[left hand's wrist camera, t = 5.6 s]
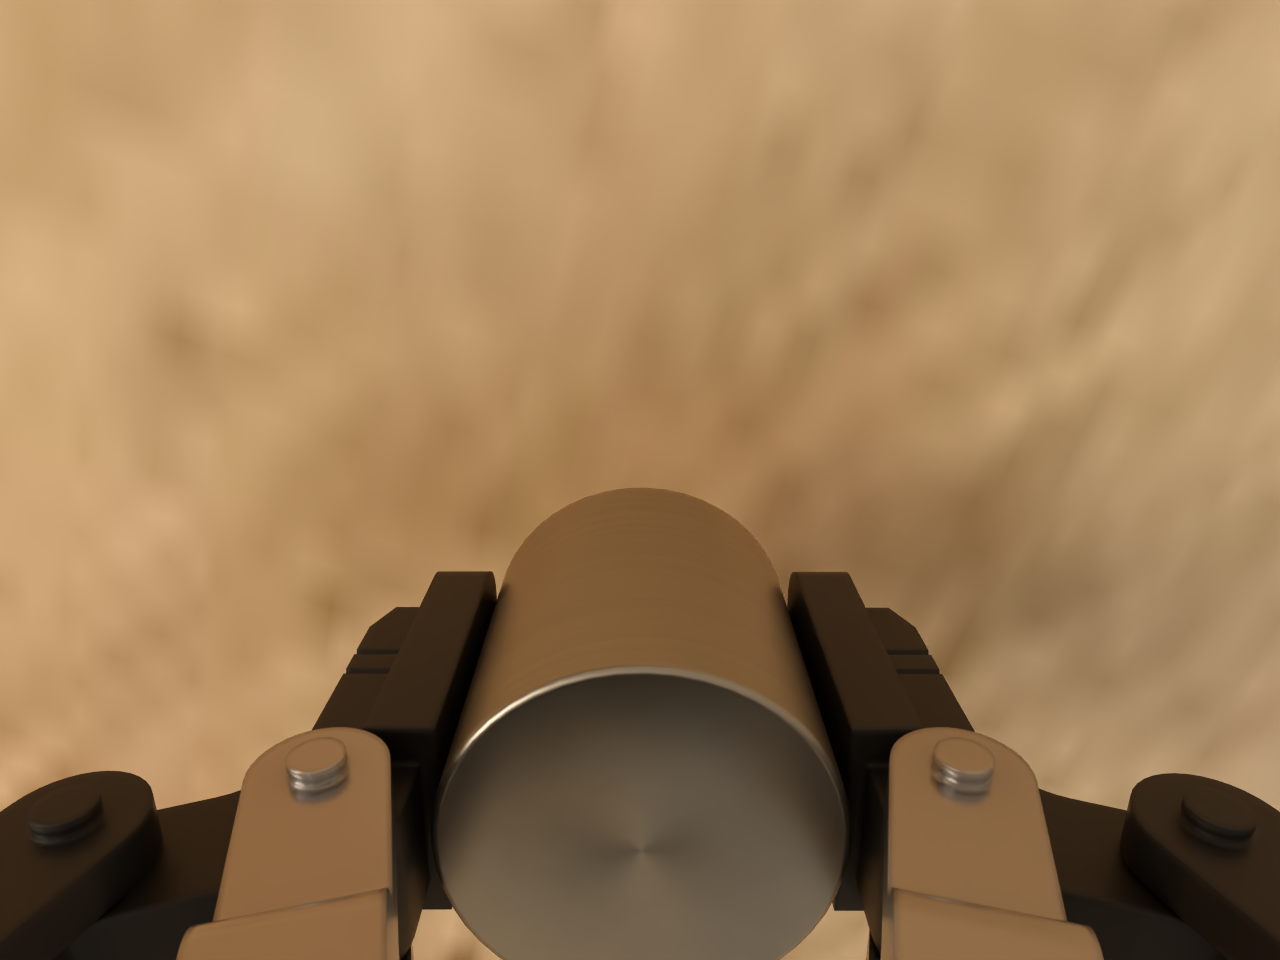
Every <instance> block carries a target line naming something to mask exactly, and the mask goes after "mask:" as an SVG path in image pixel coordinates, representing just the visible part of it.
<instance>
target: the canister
mask: <svg viewBox="0 0 1280 960" xmlns="http://www.w3.org/2000/svg"><path fill="white" fill-rule="evenodd" d="M431 842H432V848H433V855H434V861H435V865H436V868H437V871H438V874H439V878H440V881H441V884H442V887H443V889H444V891H445V893H446V895H447V897H448V899H449V901H450V903H451V905H452V907H453V908H454V910H455V911H456V913H457V914H458V915H459V917H460V918H461V920H462V921H463V923H464V924H465V925H466V926H467V928H468V929H469V930H470V931H471V932H472V933H473V934H474V935H475V936H476V937H477V938H478V939H479V941H480V942H481V943H483V944H484V945H485V946H486V947H487V948H489V949H490V950H491V951H492V952H493V953H495V954H496V955H497V956H498V957H500V958H501V959H503V960H780V959H781V958H782V957H784V956H785V955H786V954H788V953H789V952H790V951H791V950H793V949H794V948H795V947H796V946H797V945H798V944H799V943H800V942H801V941H802V940H803V939H804V938H805V937H806V936H808V935H809V934H810V933H811V932H812V930H813V929H814V928H815V926H816V925H817V924H818V923H819V921H820V920H821V919H822V917H823V916H824V915H825V914H826V912H827V910H828V908H829V907H830V905H831V903H832V901H833V900H834V898H835V896H836V894H837V892H838V889H839V887H840V884H841V881H842V879H843V876H844V874H845V870H846V866H847V861H848V856H849V852H850V845H851V817H850V808H849V802H848V799H847V795H846V792H845V788H844V785H843V781H842V778H841V775H840V772H839V769H838V765H837V762H836V759H835V756H834V753H833V750H832V747H831V744H830V740H829V737H828V734H827V731H826V728H825V725H824V722H823V719H822V715H821V712H820V709H819V706H818V703H817V700H816V697H815V694H814V690H813V687H812V684H811V681H810V678H809V675H808V672H807V668H806V665H805V662H804V659H803V656H802V653H801V650H800V647H799V643H798V640H797V637H796V634H795V631H794V628H793V625H792V622H791V618H790V615H789V612H788V609H787V606H786V603H785V600H784V597H783V593H782V590H781V587H780V584H779V581H778V578H777V575H776V572H775V570H774V568H773V566H772V564H771V562H770V559H769V558H768V556H767V555H766V553H765V551H764V550H763V548H762V547H761V545H760V544H759V543H758V542H757V540H756V539H755V538H754V537H753V536H752V535H751V533H750V532H749V531H748V530H747V529H746V528H744V527H743V526H742V525H741V524H740V523H739V522H738V521H736V520H735V519H734V518H733V517H731V516H730V515H728V514H727V513H725V512H724V511H722V510H721V509H719V508H717V507H715V506H713V505H711V504H709V503H707V502H705V501H703V500H701V499H698V498H695V497H692V496H689V495H686V494H683V493H679V492H674V491H669V490H664V489H652V488H627V489H619V490H613V491H607V492H603V493H599V494H596V495H593V496H589V497H586V498H584V499H581V500H579V501H577V502H575V503H572V504H570V505H568V506H566V507H565V508H563V509H561V510H560V511H558V512H556V513H555V514H553V515H552V516H550V517H549V518H548V519H547V520H545V521H544V522H543V523H542V524H540V525H539V526H538V527H537V528H536V529H535V530H534V531H533V532H532V533H531V534H530V535H529V536H528V537H527V538H526V540H525V541H524V542H523V544H522V545H521V547H520V548H519V549H518V551H517V552H516V553H515V555H514V557H513V559H512V561H511V563H510V565H509V567H508V569H507V571H506V574H505V577H504V580H503V583H502V586H501V589H500V592H499V595H498V599H497V602H496V605H495V608H494V611H493V614H492V618H491V621H490V624H489V627H488V630H487V633H486V637H485V640H484V643H483V646H482V649H481V652H480V656H479V659H478V662H477V665H476V668H475V671H474V675H473V678H472V681H471V684H470V687H469V690H468V694H467V697H466V700H465V703H464V706H463V710H462V713H461V716H460V719H459V722H458V725H457V729H456V732H455V735H454V738H453V741H452V744H451V748H450V751H449V754H448V757H447V760H446V763H445V767H444V770H443V773H442V776H441V779H440V782H439V786H438V789H437V792H436V795H435V800H434V806H433V812H432V817H431Z"/></svg>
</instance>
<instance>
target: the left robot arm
mask: <svg viewBox="0 0 1280 960" xmlns="http://www.w3.org/2000/svg"><path fill="white" fill-rule="evenodd" d="M496 602H497V595H496V584H495V578H494V574H493V572H437V573H436V574H435V576H434V578H433V580H432V582H431V585H430V587H429V589H428V591H427V593H426V595H425V597H424V599H423V601H422V603H421V606H420V607H396V608H395V609H393V610H392V611H391V612H389V613H388V614H387V615H385V616H384V617H383V618H381V619H380V620H378V621H377V622H376V623H374V624H373V625H372V626H370V627H369V629H368V631H367V633H366V635H365V636H364V638H363V640H362V642H361V643H360V645H359V647H358V649H357V654H354V656H353V658H352V659H351V661H350V663H349V665H348V667H347V668H346V674H343V676H342V677H341V679H340V681H339V683H338V684H337V686H336V688H335V690H334V692H333V693H332V695H331V697H330V699H329V700H328V702H327V704H326V706H325V708H324V709H323V711H322V713H321V715H320V717H319V718H318V720H317V722H316V724H315V725H314V727H313V729H312V731H308V732H305V733H301V734H298V735H295V736H293V737H290V738H288V739H286V740H284V741H282V742H280V743H278V744H276V745H274V746H273V747H271V748H270V749H268V750H267V751H265V752H264V753H263V754H262V755H261V756H259V757H258V758H257V759H256V760H255V762H254V763H253V764H252V765H251V766H250V768H249V769H248V771H247V773H246V775H245V777H244V780H243V784H242V789H241V790H240V791H237V792H234V793H231V794H228V795H224V796H220V797H216V798H212V799H207V800H202V801H198V802H193V803H188V804H184V805H179V806H174V807H170V808H165V809H160V810H156V805H155V801H154V797H153V793H152V790H151V787H150V786H149V784H148V783H147V782H146V781H145V780H144V779H142V778H141V777H139V776H136V775H134V774H131V773H126V772H121V771H100V772H91V773H85V774H80V775H76V776H72V777H68V778H65V779H62V780H59V781H56V782H53V783H51V784H48V785H46V786H44V787H41V788H39V789H37V790H35V791H33V792H31V793H29V794H27V795H25V796H24V797H22V798H21V799H19V800H17V801H16V802H14V803H13V804H11V805H10V806H8V807H7V808H5V809H4V810H3V811H1V812H0V960H414V956H413V948H412V941H413V939H414V936H415V933H416V929H417V926H418V922H419V919H420V915H421V912H422V909H452V905H451V903H450V901H449V899H448V897H447V895H446V893H445V891H444V889H443V887H442V884H441V881H440V878H439V874H438V871H437V868H436V865H435V861H434V855H433V848H432V842H431V817H432V812H433V806H434V800H435V795H436V792H437V789H438V786H439V782H440V779H441V776H442V773H443V770H444V767H445V763H446V760H447V757H448V754H449V751H450V748H451V744H452V741H453V738H454V735H455V732H456V729H457V725H458V722H459V719H460V716H461V713H462V710H463V706H464V703H465V700H466V697H467V694H468V690H469V687H470V684H471V681H472V678H473V675H474V671H475V668H476V665H477V662H478V659H479V656H480V652H481V649H482V646H483V643H484V640H485V637H486V633H487V630H488V627H489V624H490V621H491V618H492V614H493V611H494V608H495V605H496ZM787 609H788V612H789V615H790V618H791V622H792V625H793V628H794V631H795V634H796V637H797V640H798V643H799V647H800V650H801V653H802V656H803V659H804V662H805V665H806V668H807V672H808V675H809V678H810V681H811V684H812V687H813V690H814V694H815V697H816V700H817V703H818V706H819V709H820V712H821V715H822V719H823V722H824V725H825V728H826V731H827V734H828V737H829V740H830V744H831V747H832V750H833V753H834V756H835V759H836V762H837V765H838V769H839V772H840V775H841V778H842V781H843V785H844V788H845V792H846V795H847V799H848V802H849V808H850V817H851V845H850V852H849V856H848V861H847V866H846V870H845V874H844V876H843V879H842V881H841V884H840V887H839V889H838V892H837V894H836V896H835V898H834V900H833V901H832V903H833V907H834V911H864V912H865V915H866V918H867V922H868V925H869V929H870V930H869V939H868V948H867V956H866V960H1280V812H1279V811H1278V810H1276V809H1275V808H1273V807H1272V806H1270V805H1269V804H1267V803H1265V802H1264V801H1262V800H1261V799H1259V798H1257V797H1255V796H1253V795H1251V794H1249V793H1248V792H1246V791H1243V790H1241V789H1239V788H1236V787H1234V786H1232V785H1229V784H1226V783H1223V782H1220V781H1217V780H1214V779H1210V778H1206V777H1202V776H1196V775H1190V774H1178V773H1171V774H1159V775H1154V776H1151V777H1148V778H1145V779H1143V780H1142V781H1140V782H1139V783H1137V785H1136V786H1135V787H1134V788H1133V790H1132V793H1131V796H1130V800H1129V805H1128V809H1127V811H1126V810H1122V809H1117V808H1112V807H1108V806H1103V805H1098V804H1094V803H1089V802H1084V801H1079V800H1075V799H1070V798H1066V797H1063V796H1059V795H1055V794H1052V793H1049V792H1047V791H1044V790H1041V789H1039V788H1038V784H1037V780H1036V777H1035V775H1034V773H1033V771H1032V769H1031V768H1030V766H1029V765H1028V764H1027V763H1026V762H1025V760H1024V759H1023V758H1022V757H1021V756H1019V755H1018V754H1017V753H1016V752H1015V751H1013V750H1012V749H1010V748H1009V747H1007V746H1006V745H1004V744H1002V743H1000V742H998V741H996V740H994V739H992V738H990V737H987V736H985V735H982V734H979V733H975V731H974V729H973V728H972V726H971V724H970V722H969V721H968V719H967V717H966V715H965V714H964V712H963V710H962V708H961V707H960V705H959V703H958V701H957V700H956V698H955V696H954V694H953V693H952V691H951V689H950V687H949V686H948V684H947V682H946V680H945V679H944V677H943V675H942V674H939V668H938V666H937V665H936V663H935V661H934V659H933V658H932V656H931V655H929V654H928V649H927V647H926V645H925V644H924V642H923V640H922V638H921V637H920V635H919V633H918V631H917V630H916V628H915V627H914V626H913V625H911V624H910V623H908V622H907V621H906V620H904V619H903V618H902V617H900V616H899V615H898V614H896V613H895V612H893V611H892V610H891V609H889V608H865V606H864V604H863V602H862V600H861V598H860V596H859V593H858V591H857V589H856V587H855V585H854V583H853V581H852V579H851V577H850V575H849V574H848V573H847V572H793V573H792V574H791V577H790V581H789V589H788V603H787Z"/></svg>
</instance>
